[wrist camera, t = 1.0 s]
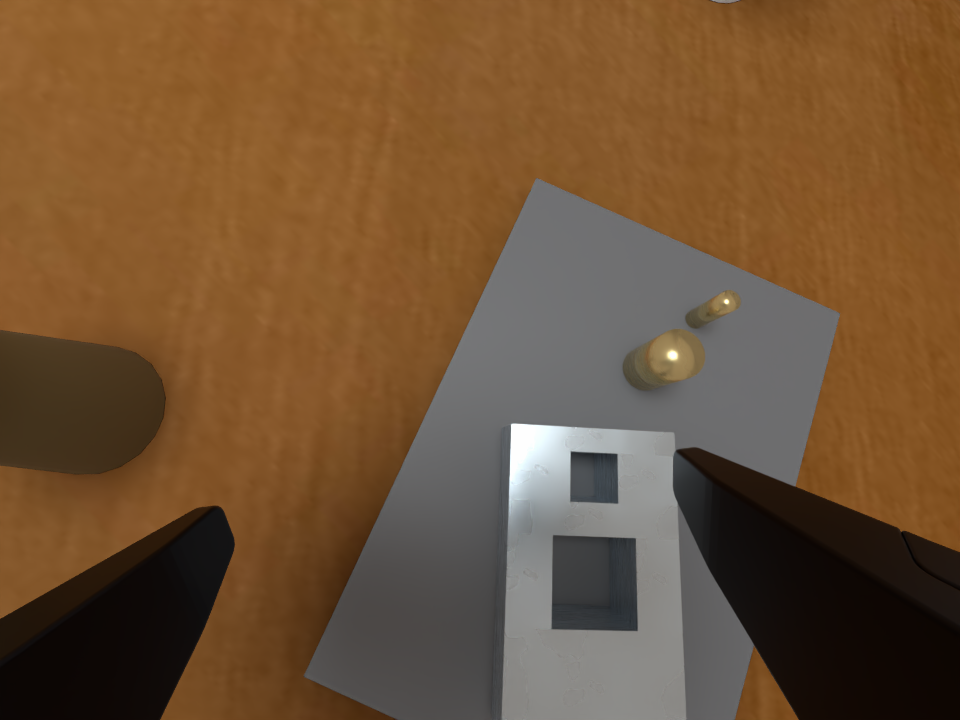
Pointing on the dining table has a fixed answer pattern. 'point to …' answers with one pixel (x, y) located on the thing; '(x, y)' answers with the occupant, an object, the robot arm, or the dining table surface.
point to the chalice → (725, 1)
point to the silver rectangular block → (632, 580)
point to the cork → (74, 404)
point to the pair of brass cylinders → (676, 348)
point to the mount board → (571, 403)
